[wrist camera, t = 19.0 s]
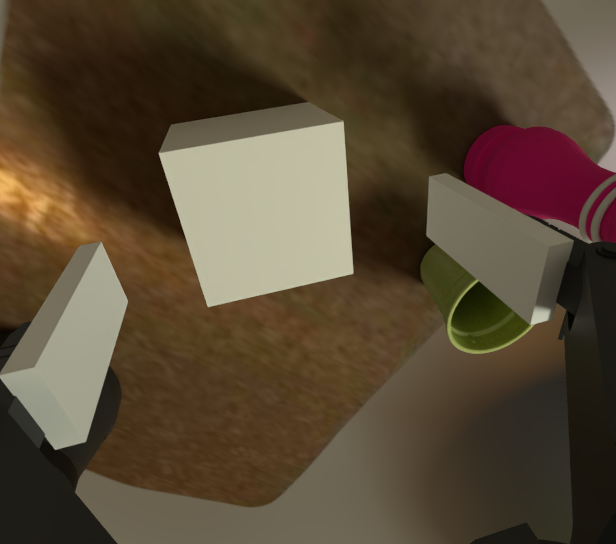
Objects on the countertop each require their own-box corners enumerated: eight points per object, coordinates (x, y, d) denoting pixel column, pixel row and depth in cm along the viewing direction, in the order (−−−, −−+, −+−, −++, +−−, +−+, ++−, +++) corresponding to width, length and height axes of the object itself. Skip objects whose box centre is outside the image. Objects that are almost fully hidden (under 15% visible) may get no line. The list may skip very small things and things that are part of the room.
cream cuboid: (207, 248, 33) (207, 306, 26) (170, 124, 28) (158, 153, 20) (321, 224, 34) (353, 273, 27) (308, 101, 29) (343, 121, 22)
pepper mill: (540, 117, 34) (866, 188, 17) (516, 196, 38) (766, 318, 21) (468, 118, 33) (748, 196, 16) (450, 200, 36) (662, 334, 19)
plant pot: (450, 310, 44) (500, 363, 36) (386, 286, 40) (427, 340, 32) (504, 240, 40) (570, 284, 33) (439, 206, 36) (498, 247, 29)
